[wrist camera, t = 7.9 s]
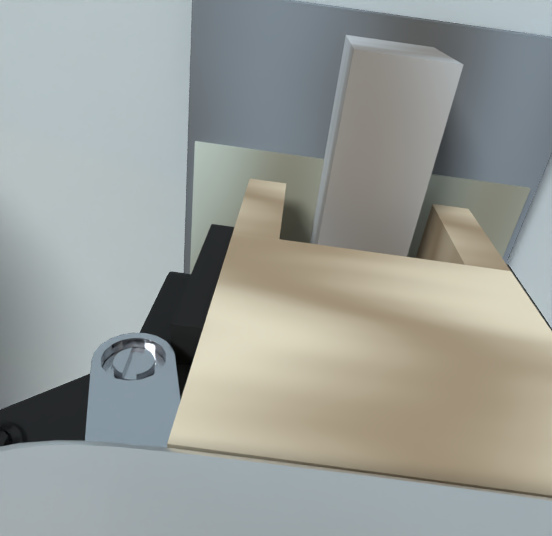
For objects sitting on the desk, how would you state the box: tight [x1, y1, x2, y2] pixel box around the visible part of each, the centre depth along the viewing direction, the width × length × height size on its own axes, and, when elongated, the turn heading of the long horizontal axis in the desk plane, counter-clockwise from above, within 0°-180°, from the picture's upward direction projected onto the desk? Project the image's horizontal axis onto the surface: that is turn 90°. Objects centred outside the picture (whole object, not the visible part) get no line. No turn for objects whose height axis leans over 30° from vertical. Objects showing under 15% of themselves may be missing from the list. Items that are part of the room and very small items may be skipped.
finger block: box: [167, 179, 552, 498], centre depth 10 cm, size 5×5×8 cm
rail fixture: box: [184, 0, 552, 274], centre depth 14 cm, size 9×24×9 cm, turn 173°
